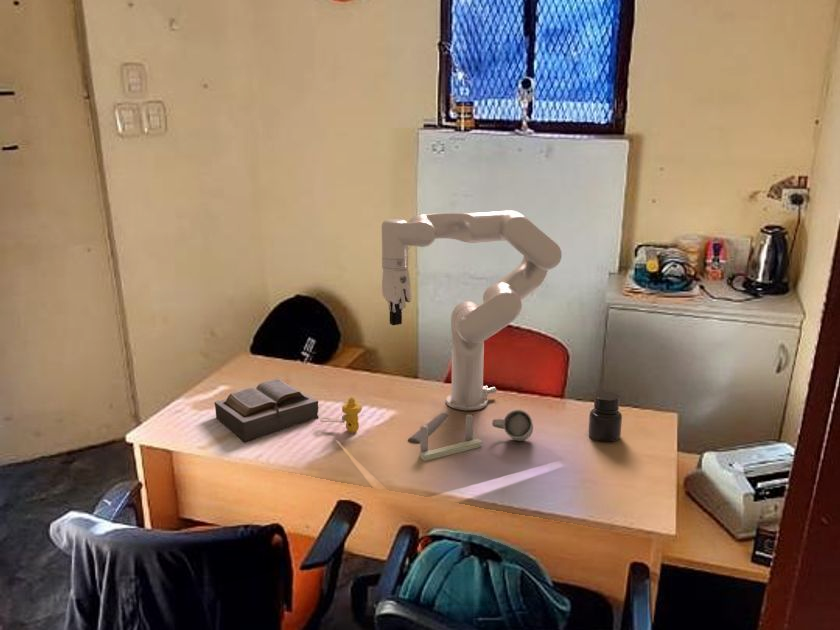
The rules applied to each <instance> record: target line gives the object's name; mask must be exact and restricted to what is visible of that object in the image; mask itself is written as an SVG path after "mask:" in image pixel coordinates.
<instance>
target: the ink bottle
mask: <svg viewBox="0 0 840 630" xmlns="http://www.w3.org/2000/svg"><path fill="white" fill-rule="evenodd" d="M620 399H621V397H620V395H619V394H618V393H616V392H614V391H609V390H608V391H607V390H603V391H602V390H601V391H597V392H596V393H594V402H593V408H592V409H591V410H590V411H589V417H588V418H589V419H588V429H587V430H588V435H589V436H590V437H591V438H592V439H594V440H597V441H603V442H614V441H617V440H619V439H620V438H621V436H622V435H621V433H622V425H623V424H622V423H623V415H622V413H621V412H620V410H619V409H620Z"/></svg>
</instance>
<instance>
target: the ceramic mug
mask: <svg viewBox="0 0 840 630" xmlns="http://www.w3.org/2000/svg"><path fill="white" fill-rule="evenodd" d="M491 425H492V427H494V428H497V429H503V430H504V432H505V433H506V434H507V436H509V437H510V438H511V439H512V440H514V441H518V442H523V441H527V440H528V439H530V437H531V436H532V434H533V431H534V424H533V420H532V418H531V416H530V414H529V413H527V412H526V411H525V410H521V409H515V410H512V411H510V412H508V413H507V414H506V415H505V417H504V419H500V418H499V419H493V420H492V423H491Z"/></svg>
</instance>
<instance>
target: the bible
mask: <svg viewBox="0 0 840 630" xmlns="http://www.w3.org/2000/svg"><path fill="white" fill-rule="evenodd" d="M214 409H215V418H216V420H217V421H219V423H221V424H222V425H223V426H224V427H226V428H227V429H228V430H229V431H230V432H231V433H233V434H234V435H235V436H236V437H237V438H238V439H240V440H241V441H242V443H244V444H247V443H250V442H252V441H254V440H257V439H260V438H264V437H266V436H270V435H272V434H276V433H278V431H279V432H281V431H280V430H282V431H284V430H286V429H290V428H292V427H295V426H297V424H298V425H301V424H304V423H308V422H310V421H312V420H314V419H320V417H319V400H317V399H316V398H314V397H312V396H311V395H309V394H307V393H305V392H303V391H302V390H299V388H296V387H294V386H293V385H291V384H289V383H288V382H284V381H283V380H282V379H280V378H278V377H277V378H273V379H271V380H266V381H261V382H260V383H259V384H258V385H257V386H256V388H254V387H248V388H245V389H242V390H239V391H235V392H231V393H229V395H227V398H224V399H221V400H217V401H214ZM283 429H284V430H283ZM275 432H276V433H275Z"/></svg>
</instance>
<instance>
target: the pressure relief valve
mask: <svg viewBox="0 0 840 630" xmlns="http://www.w3.org/2000/svg"><path fill="white" fill-rule="evenodd" d="M362 409H363V406H362V405H361V404H360V403H359V402H356V399H355V398H354V397H349V398H348V401H347V402H346V403H344V404H343V405H342V407H341V411H342V413H344V414H342V417H341V419H340V418H331V417H328V416H324V417H321V418H319V421H320V422H321V423H327V422H329V423H340V424H342V423H343V424H344V423H345V422H346V423H345V428H346V430H347V431H348V432H349V433H351V434H353V433H356V432H357V430H359V427H360V423H359V414H360V413H361V412H362ZM325 419H326V420H325Z"/></svg>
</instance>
